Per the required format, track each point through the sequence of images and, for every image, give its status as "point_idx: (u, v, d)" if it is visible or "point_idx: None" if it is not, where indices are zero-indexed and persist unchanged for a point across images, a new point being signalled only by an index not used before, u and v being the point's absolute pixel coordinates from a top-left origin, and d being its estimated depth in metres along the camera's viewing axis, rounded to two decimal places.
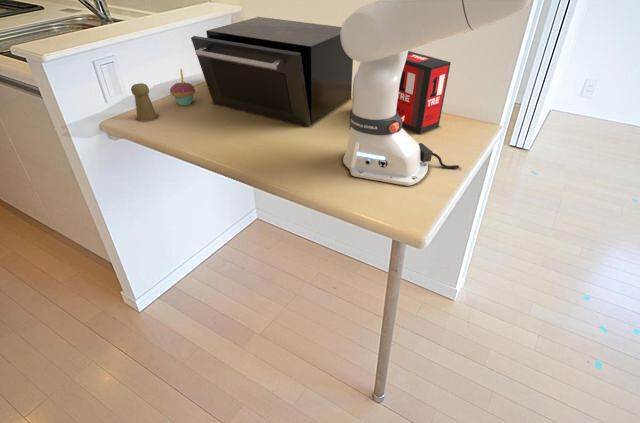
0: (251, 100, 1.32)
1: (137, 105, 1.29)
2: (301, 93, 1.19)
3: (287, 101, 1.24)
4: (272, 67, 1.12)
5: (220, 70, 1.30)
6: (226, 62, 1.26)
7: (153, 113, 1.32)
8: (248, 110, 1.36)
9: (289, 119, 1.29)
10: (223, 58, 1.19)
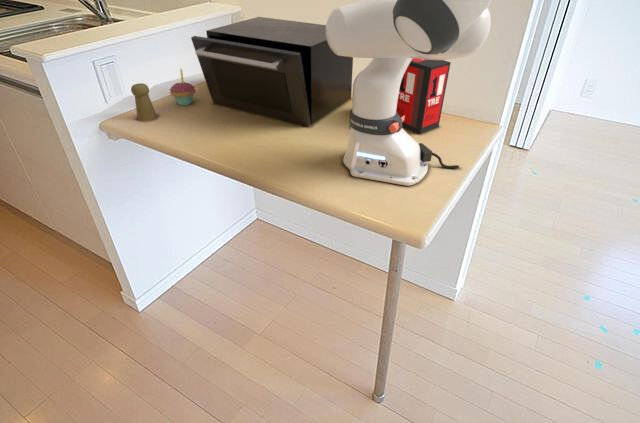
0: (251, 100, 1.32)
1: (137, 105, 1.29)
2: (301, 92, 1.19)
3: (287, 101, 1.24)
4: (272, 67, 1.12)
5: (220, 70, 1.30)
6: (226, 62, 1.26)
7: (153, 113, 1.32)
8: (248, 110, 1.36)
9: (289, 119, 1.29)
10: (223, 58, 1.19)
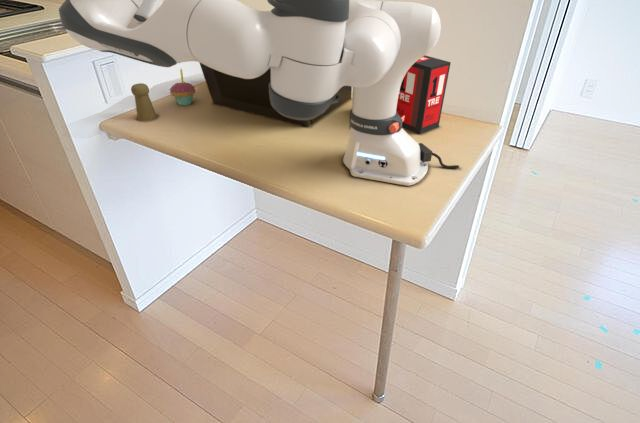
0: (251, 100, 1.32)
1: (137, 105, 1.29)
2: None
3: None
4: None
5: None
6: None
7: (153, 113, 1.32)
8: (248, 110, 1.36)
9: (289, 119, 1.29)
10: None
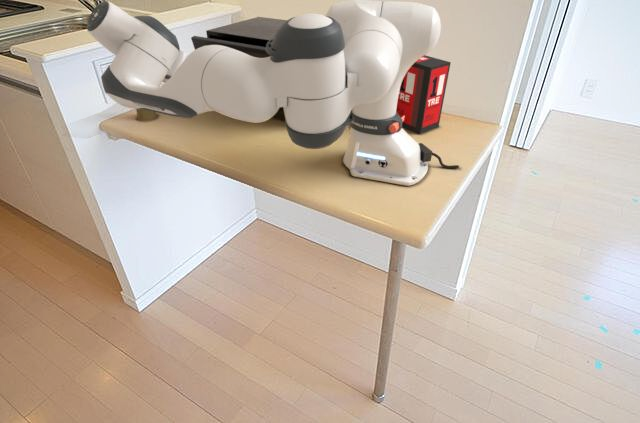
0: None
1: None
2: None
3: None
4: None
5: None
6: None
7: (153, 113, 1.32)
8: None
9: None
10: None
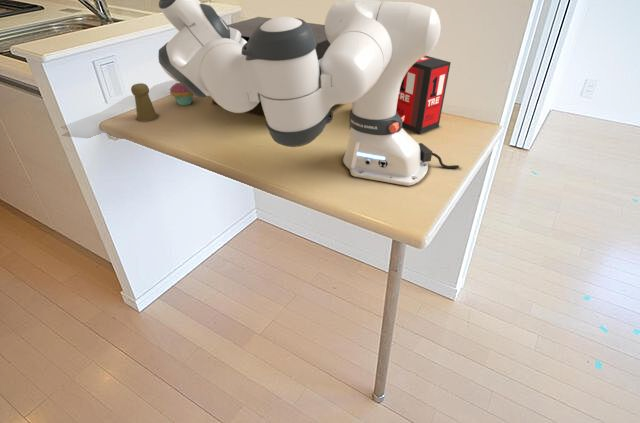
0: None
1: (137, 105, 1.29)
2: None
3: None
4: None
5: None
6: None
7: (153, 113, 1.32)
8: None
9: None
10: None
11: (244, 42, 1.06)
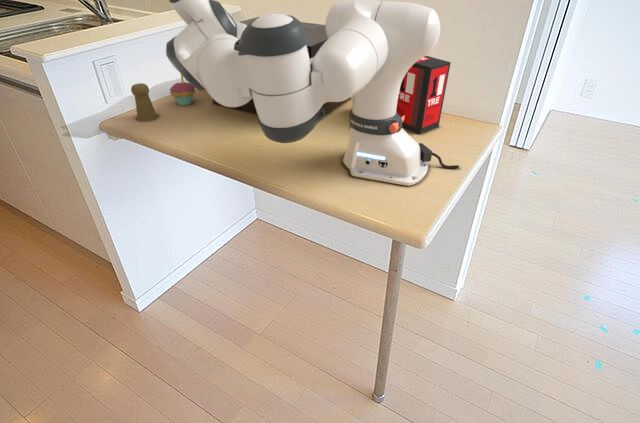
0: None
1: (137, 105, 1.29)
2: None
3: None
4: None
5: None
6: None
7: (153, 113, 1.32)
8: (248, 109, 1.36)
9: None
10: None
11: None
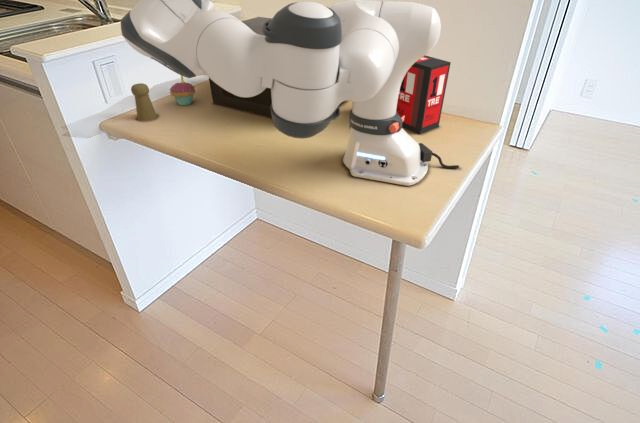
0: (253, 98, 1.32)
1: (137, 105, 1.29)
2: None
3: None
4: None
5: None
6: None
7: (153, 113, 1.32)
8: (248, 109, 1.36)
9: None
10: None
11: None
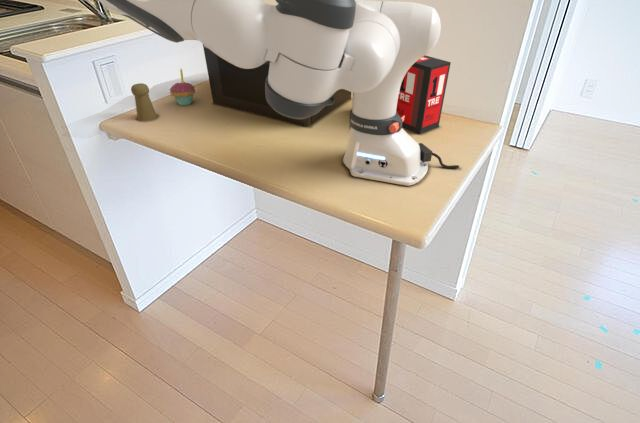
0: (253, 98, 1.32)
1: (137, 105, 1.29)
2: None
3: None
4: None
5: (225, 67, 1.31)
6: None
7: (153, 113, 1.32)
8: (248, 109, 1.36)
9: (289, 118, 1.29)
10: None
11: None
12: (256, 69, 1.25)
